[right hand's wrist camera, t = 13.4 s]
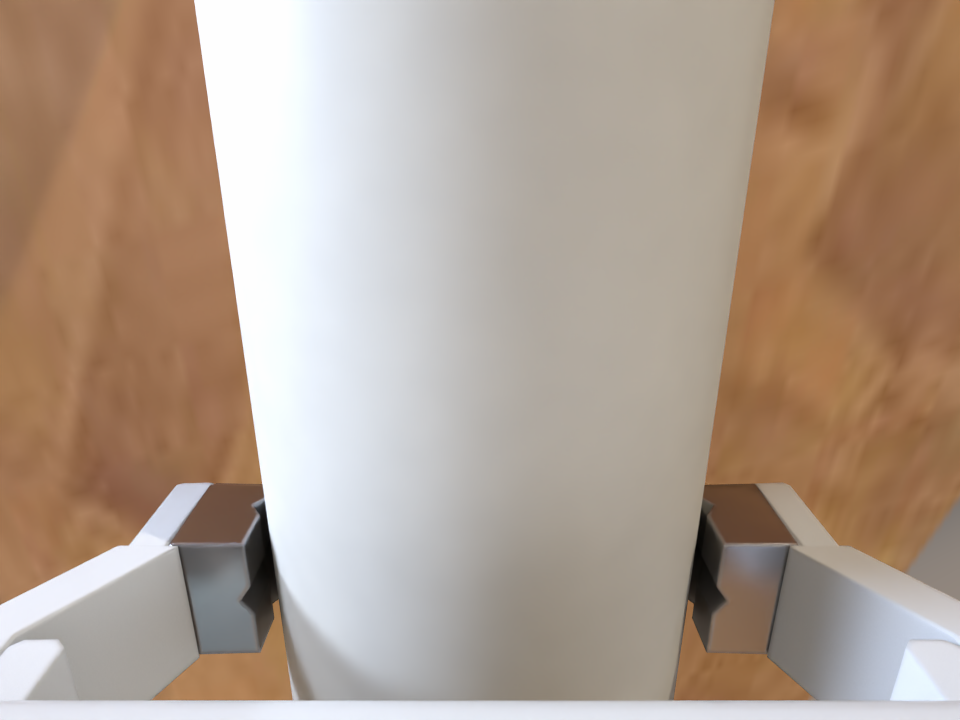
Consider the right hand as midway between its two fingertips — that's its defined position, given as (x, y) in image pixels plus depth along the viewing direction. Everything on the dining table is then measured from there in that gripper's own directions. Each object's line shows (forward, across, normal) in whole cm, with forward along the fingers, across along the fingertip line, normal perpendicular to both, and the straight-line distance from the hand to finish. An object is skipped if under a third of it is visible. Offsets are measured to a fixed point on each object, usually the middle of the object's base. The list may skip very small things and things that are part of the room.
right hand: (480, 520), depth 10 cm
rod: (+3, 0, -10) cm, 10 cm away
